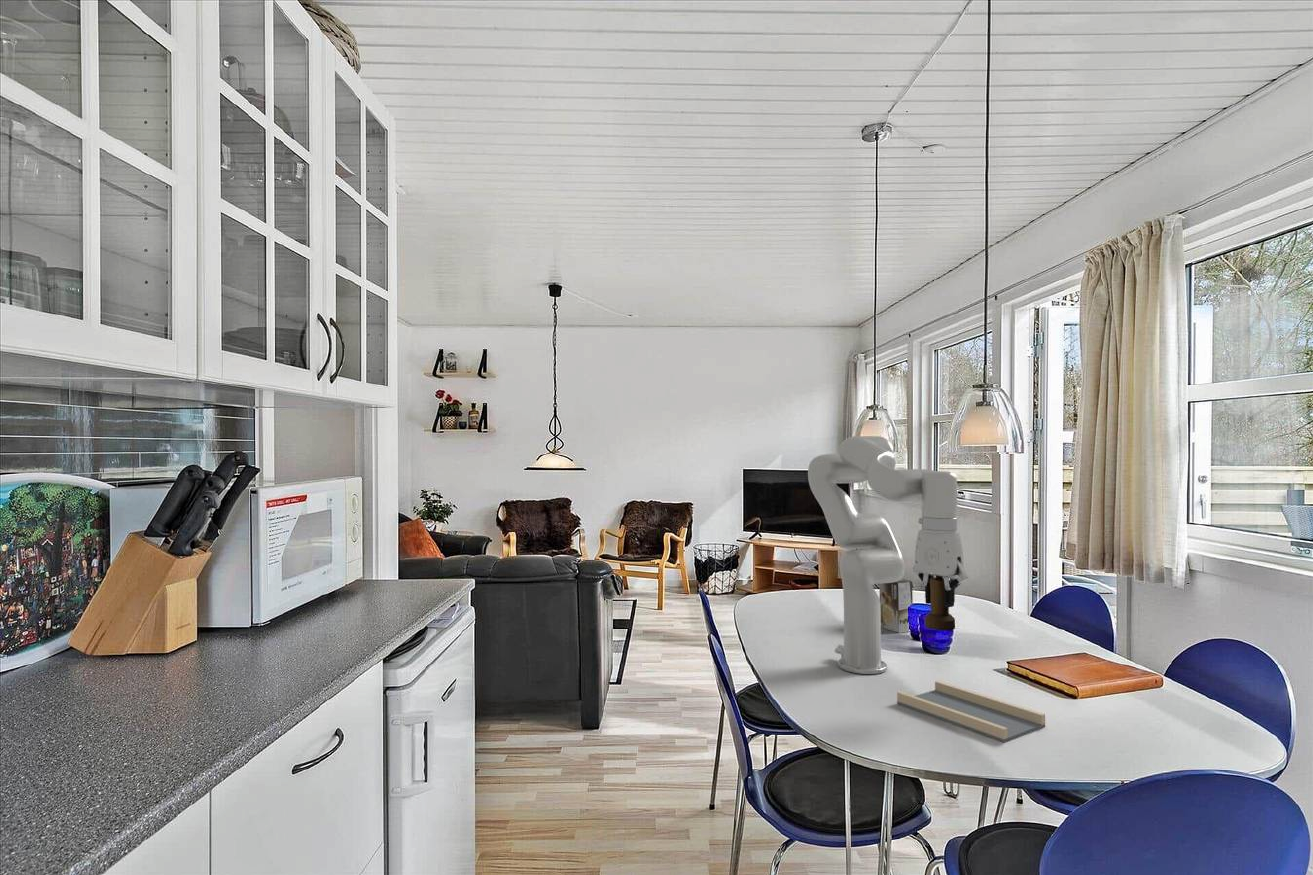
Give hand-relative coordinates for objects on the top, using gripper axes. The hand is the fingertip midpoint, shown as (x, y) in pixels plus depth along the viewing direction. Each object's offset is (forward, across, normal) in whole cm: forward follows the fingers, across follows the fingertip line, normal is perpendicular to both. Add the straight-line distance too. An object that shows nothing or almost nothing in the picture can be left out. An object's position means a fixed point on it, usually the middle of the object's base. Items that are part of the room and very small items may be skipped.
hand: (939, 604), depth 166 cm
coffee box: (+24, -51, +48) cm, 74 cm away
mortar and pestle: (+5, 0, 0) cm, 5 cm away
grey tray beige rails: (+23, +7, 0) cm, 24 cm away
